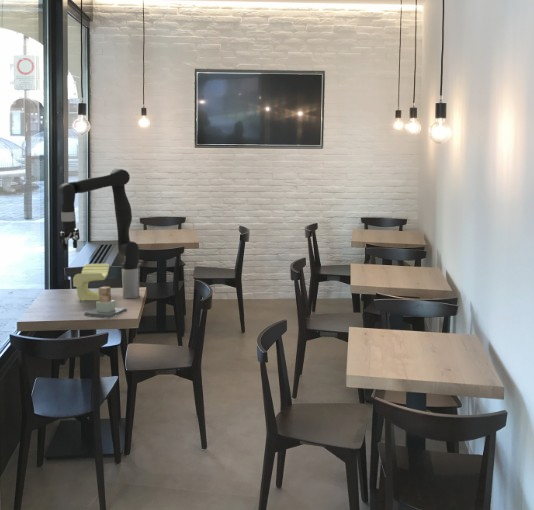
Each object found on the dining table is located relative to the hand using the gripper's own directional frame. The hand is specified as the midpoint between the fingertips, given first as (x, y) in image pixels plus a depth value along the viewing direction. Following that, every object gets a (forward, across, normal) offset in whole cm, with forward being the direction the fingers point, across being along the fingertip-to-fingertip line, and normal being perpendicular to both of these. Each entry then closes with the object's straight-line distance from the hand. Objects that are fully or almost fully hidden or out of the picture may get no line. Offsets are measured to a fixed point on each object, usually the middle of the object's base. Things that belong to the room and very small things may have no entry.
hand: (70, 249), depth 398 cm
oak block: (+26, -8, -28) cm, 38 cm away
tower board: (+32, -8, -28) cm, 43 cm away
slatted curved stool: (+32, +19, +1) cm, 38 cm away
